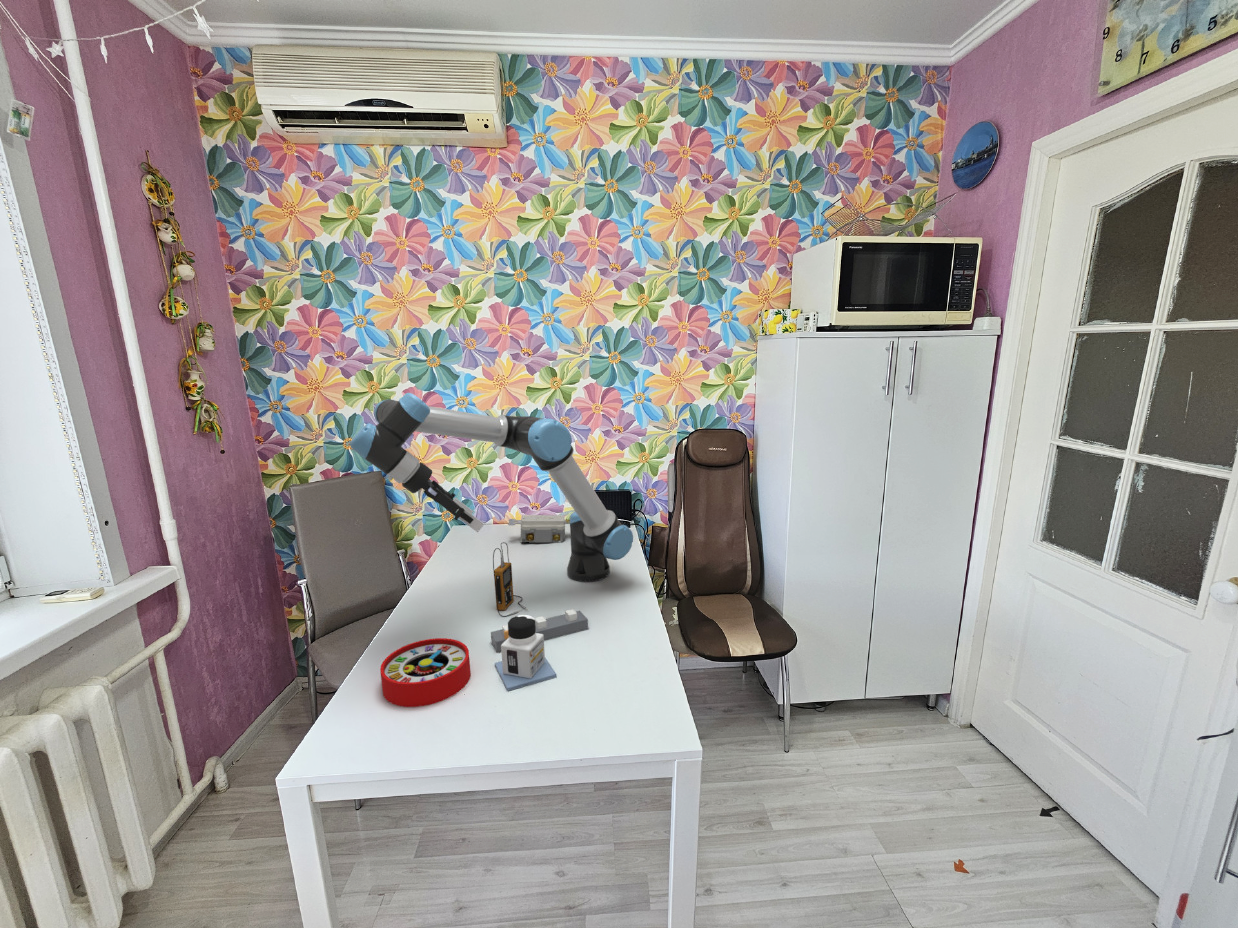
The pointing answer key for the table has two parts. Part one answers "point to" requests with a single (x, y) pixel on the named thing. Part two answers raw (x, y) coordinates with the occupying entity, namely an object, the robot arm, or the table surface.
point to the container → (522, 648)
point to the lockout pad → (518, 682)
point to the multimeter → (504, 584)
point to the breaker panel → (547, 627)
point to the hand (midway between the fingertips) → (475, 521)
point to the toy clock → (425, 672)
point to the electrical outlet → (541, 528)
